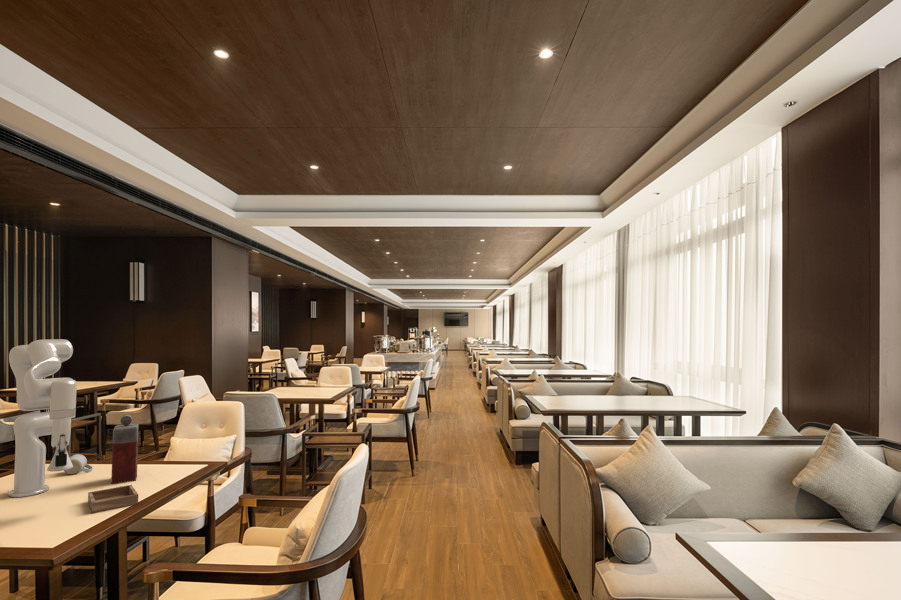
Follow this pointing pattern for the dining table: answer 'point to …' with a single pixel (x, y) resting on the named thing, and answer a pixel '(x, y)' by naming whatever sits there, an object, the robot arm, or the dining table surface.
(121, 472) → the red decanter
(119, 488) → the box
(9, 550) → the dining table surface
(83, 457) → the ceramic mug
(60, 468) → the flask
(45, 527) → the dining table surface
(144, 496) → the dining table surface
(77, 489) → the dining table surface
